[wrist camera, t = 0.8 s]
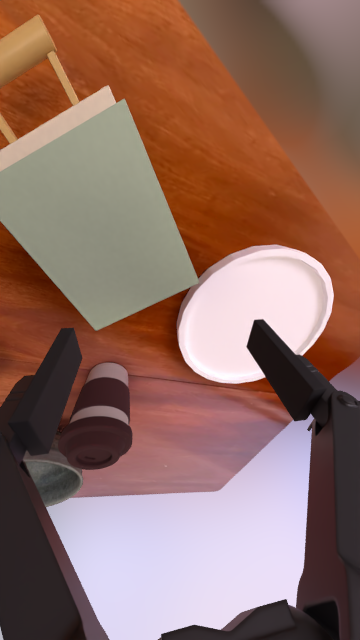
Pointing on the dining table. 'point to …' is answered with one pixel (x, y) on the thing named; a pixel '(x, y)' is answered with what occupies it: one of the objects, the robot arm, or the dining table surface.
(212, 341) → the plate
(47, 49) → the drawer
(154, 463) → the dining table surface
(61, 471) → the bowl
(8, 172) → the cabinet
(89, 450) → the coffee cup
